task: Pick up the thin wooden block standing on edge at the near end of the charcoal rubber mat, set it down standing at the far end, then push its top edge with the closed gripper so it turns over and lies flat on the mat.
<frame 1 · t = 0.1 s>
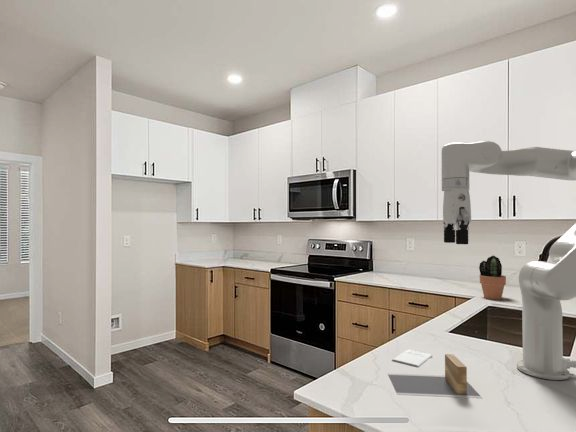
hand: (455, 243, 109), 37 cm above the worktop, tool pointing down, fingers open, 9 cm apart
mat: (431, 387, 96), on the worktop
potted plant: (492, 298, 216), on the worktop
wooden block: (455, 385, 95), point 1 cm above the worktop, touching mat
external hard drive: (412, 362, 115), on the worktop
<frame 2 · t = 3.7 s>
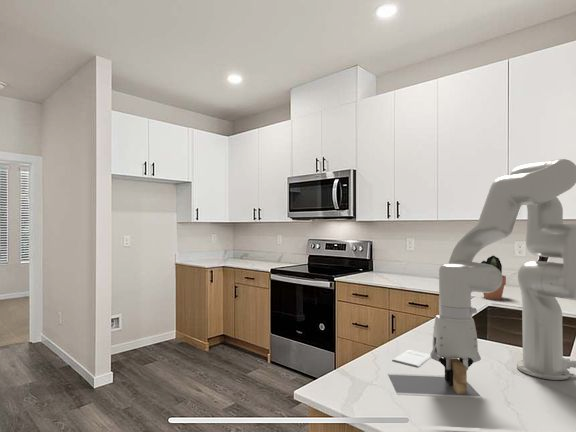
hand: (455, 383, 95), 1 cm above the worktop, tool pointing down, fingers closed on wooden block, 2 cm apart
wooden block: (455, 385, 95), point 1 cm above the worktop, touching gripper, mat
everything else where it was.
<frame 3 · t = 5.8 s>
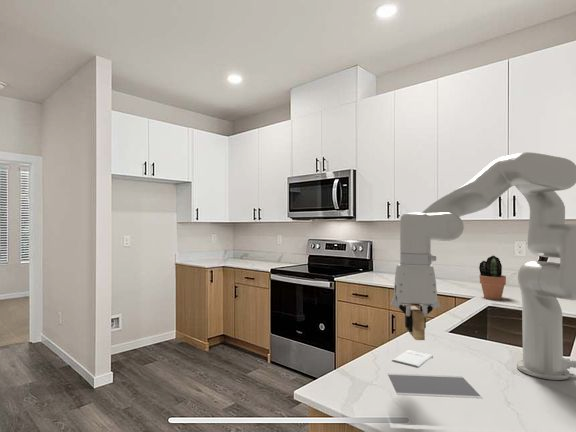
hand: (415, 330, 97), 15 cm above the worktop, tool pointing down, fingers closed on wooden block
wooden block: (415, 334, 97), point 13 cm above the worktop, touching gripper
everything else where it was.
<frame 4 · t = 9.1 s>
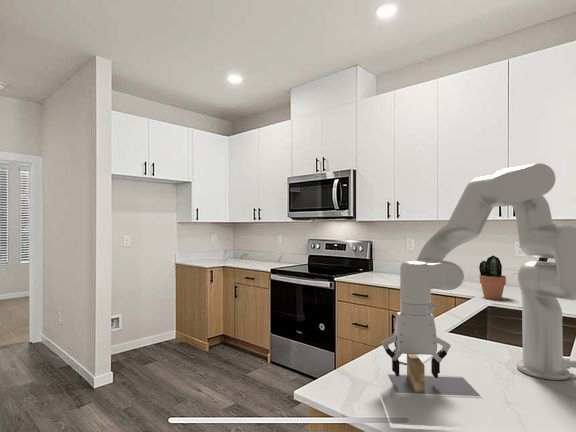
hand: (415, 375, 96), 3 cm above the worktop, tool pointing down, fingers open, 9 cm apart
wooden block: (415, 384, 96), point 1 cm above the worktop, touching mat
everything else where it was.
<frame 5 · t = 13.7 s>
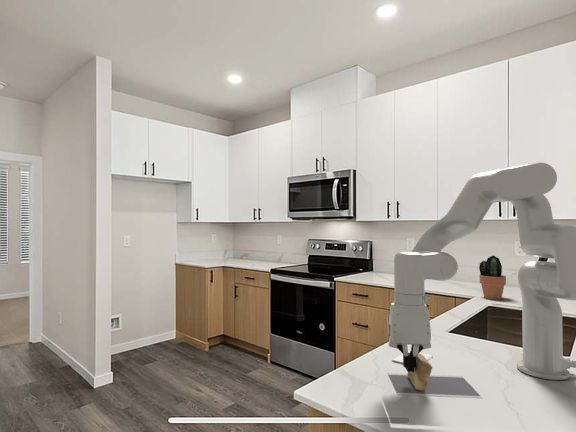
hand: (409, 370, 97), 4 cm above the worktop, tool pointing down, fingers closed
wooden block: (415, 382, 96), point 1 cm above the worktop, tilted 17°, touching gripper, mat
everything else where it was.
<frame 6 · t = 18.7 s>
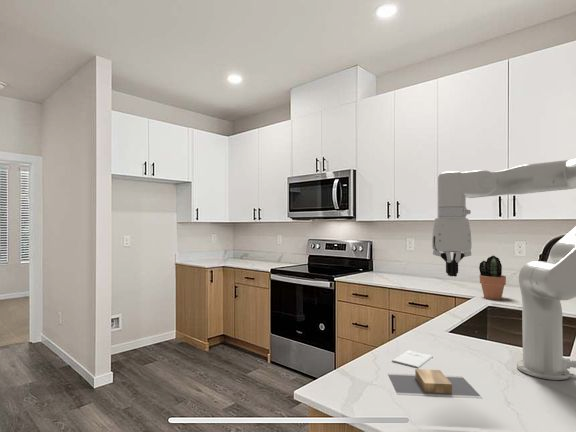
hand: (452, 275, 109), 27 cm above the worktop, tool pointing down, fingers closed
wooden block: (419, 380, 96), point 2 cm above the worktop, tilted 90°, touching mat
everything else where it was.
at the end: wooden block tilted 90°; wooden block inside the target area (2.9 cm from its centre), point 1.7 cm above the worktop; the gripper is holding nothing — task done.
